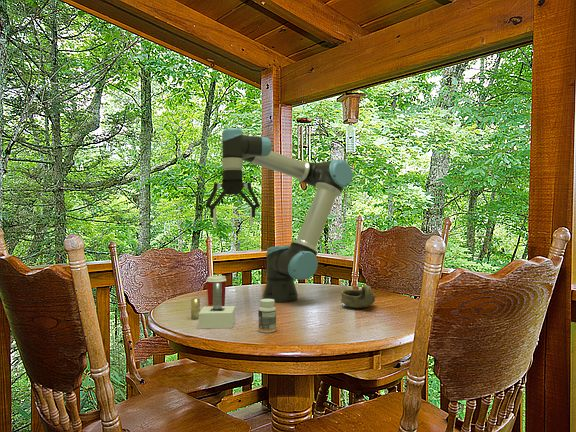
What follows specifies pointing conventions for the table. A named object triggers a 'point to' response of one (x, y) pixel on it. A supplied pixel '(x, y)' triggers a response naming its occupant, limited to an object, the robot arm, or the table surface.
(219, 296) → the long pin
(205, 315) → the hole block
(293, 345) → the table surface
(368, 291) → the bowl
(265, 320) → the pill bottle
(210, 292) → the paper cup
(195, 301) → the short pin
